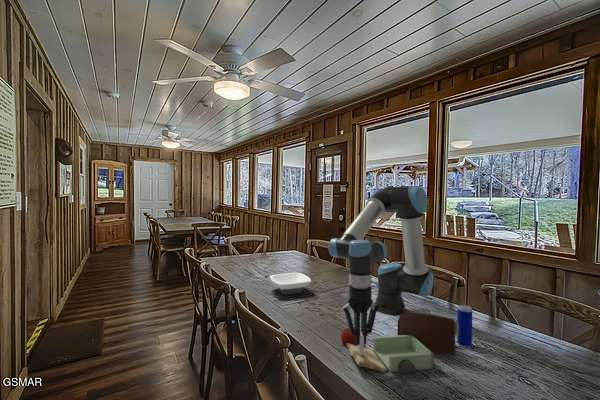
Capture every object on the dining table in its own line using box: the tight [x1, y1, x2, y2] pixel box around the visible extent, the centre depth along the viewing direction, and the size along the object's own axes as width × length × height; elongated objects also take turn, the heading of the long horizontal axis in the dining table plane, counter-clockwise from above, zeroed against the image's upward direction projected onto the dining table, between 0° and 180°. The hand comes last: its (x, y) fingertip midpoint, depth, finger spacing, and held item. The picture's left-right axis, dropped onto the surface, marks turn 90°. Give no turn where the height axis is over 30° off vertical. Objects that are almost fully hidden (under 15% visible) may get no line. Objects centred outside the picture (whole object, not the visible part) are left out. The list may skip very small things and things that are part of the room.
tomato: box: [340, 327, 357, 347], centre depth 117 cm, size 8×8×7 cm
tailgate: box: [346, 343, 390, 373], centre depth 104 cm, size 13×1×11 cm
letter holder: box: [397, 313, 456, 356], centre depth 118 cm, size 10×20×14 cm, turn 75°
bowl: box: [269, 272, 312, 296], centre depth 182 cm, size 22×23×8 cm
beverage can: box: [456, 304, 473, 348], centre depth 118 cm, size 5×5×15 cm
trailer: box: [373, 335, 434, 376], centre depth 106 cm, size 18×15×6 cm
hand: (360, 353), depth 104 cm, fingers closed
